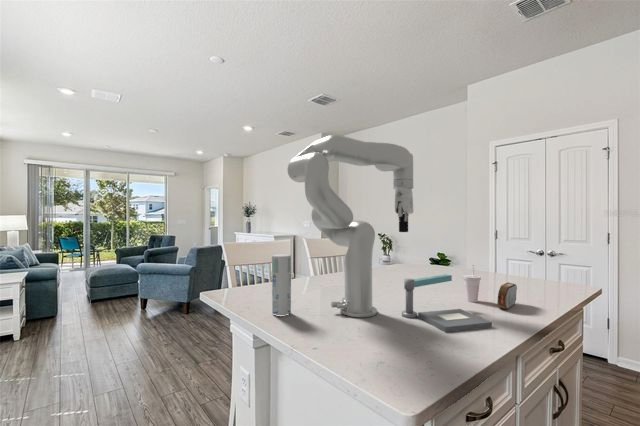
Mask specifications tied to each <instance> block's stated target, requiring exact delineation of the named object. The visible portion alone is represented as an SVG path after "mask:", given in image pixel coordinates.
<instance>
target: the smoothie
mask: <svg viewBox="0 0 640 426" xmlns="http://www.w3.org/2000/svg"><path fill="white" fill-rule="evenodd" d="M471 268H472V271H471V272H472V273H471V274H463V275H462V279H463V283H464V290H465V297H466V301H467V302H468V303H478V300H479V292H480V290H479V289H480V282H481V280H482V277H481V276H479V275H475V265H474V264H472V266H471Z"/></svg>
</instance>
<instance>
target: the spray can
mask: <svg viewBox="0 0 640 426" xmlns="http://www.w3.org/2000/svg"><path fill="white" fill-rule="evenodd" d="M271 279H272V281H271V284H272V285H271V286H272V289H271V290H272V291H271V292H272V293H271V294H272V296H271V297H272V299H271V300H272V301H271V302H272V303H271V305H272V308H271V309H272V315H273V314H276V315H286V314H289V313H292V312H291V311H292V255H291V254H287V253H281V254H280V253H279V254H278V253H277V254H272V255H271Z"/></svg>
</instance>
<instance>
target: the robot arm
mask: <svg viewBox="0 0 640 426" xmlns="http://www.w3.org/2000/svg"><path fill="white" fill-rule="evenodd" d="M329 162H339V163H344V164H349V165H353V166H358V167H359V166H360V167H361V166H362V167H364V166H365V167H369V166H374V167H375V168H376V169H377V170H378V171H381V172H393V173H392V174H393V175H392V177H393V183H392V184H393V190H395V191H394V192H395V193H394V212H395V214H397V217H398V232H400V233H408V232H409V215H410V214H411V215H412V214H413V213H414V198H413V189H414V156H413V153H411V152H410V151H409V150H408V148H406V147H405V146H401V145H398V144H395V143H388V142H376V141H363V140H359V139H355V138H351V137H349V136H343V135H340V134H336V133H335V134H329V135H327V136H324V137H322V138H318V139H317V140H315V141H313V142H312V143H311V144H309V145H308V146H307V147H306V148H304V149H303V150H302V151H300V152H299V153H298V154H297V155H296V156H294V157H293V158H292V159H291V160H290V161H289V163H288V165H287V168H286V169H287V175H288V177H289V179H291V180H293V181H294V182H296V183H304V192H305V198H306V201H307V202H308V203H309V205H310V206H311V207H312V211H311V220H312V223H313V224H314V226H315V227H316V228H317V229H318V230H319V231H320V232H321V233H322V234H323V235H324V236H325V237H326V238H328V240H329V241H331V242H333V244H335V245H336V246H339V247H345V248H348V249H347V251H346V252H345V256H344V267H343V268H344V297H341V300H339V301H331V302H330V305H331V308H337V310H338V309H339V310H340V311H339V312H340V313H341V314H342V315H344V316H346V315H347V317H351V318H369V317H374V316H375V315H376V314H377V313H378V308H376V306H373V250H374V244H375V239H376V232H375V228H374V227H373V225H371V224H370V223H369V222H367V221H364V220H354V213H353V211H352V209H351V208H350V207H349V206H348V204H347V203H345V201H344V200H343V199H342V198H341V197H340V196H339V195H338V194H337V193H336V192H335V191H334V190H333V189H332V187H331V185H330V182H329V173H330V172H329V171H330V164H329Z"/></svg>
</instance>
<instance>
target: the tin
mask: <svg viewBox="0 0 640 426" xmlns="http://www.w3.org/2000/svg"><path fill="white" fill-rule="evenodd" d="M517 290H518V287H517V284H516V283H512V282H506V283H504V284H501V285H500V287H499V290H498V294H497V307H498V309H502V310H509V309H511V308H512V307H513V306H515V304H516V301H517Z"/></svg>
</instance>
